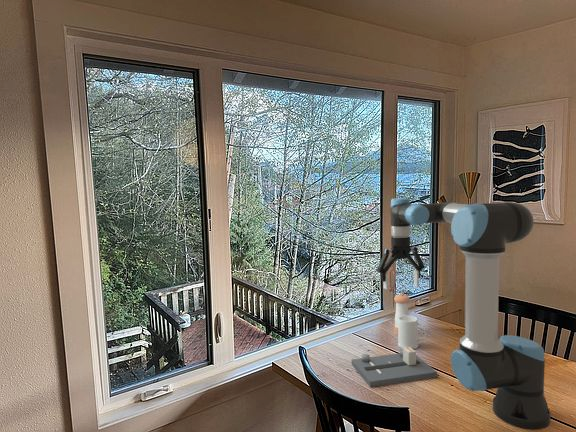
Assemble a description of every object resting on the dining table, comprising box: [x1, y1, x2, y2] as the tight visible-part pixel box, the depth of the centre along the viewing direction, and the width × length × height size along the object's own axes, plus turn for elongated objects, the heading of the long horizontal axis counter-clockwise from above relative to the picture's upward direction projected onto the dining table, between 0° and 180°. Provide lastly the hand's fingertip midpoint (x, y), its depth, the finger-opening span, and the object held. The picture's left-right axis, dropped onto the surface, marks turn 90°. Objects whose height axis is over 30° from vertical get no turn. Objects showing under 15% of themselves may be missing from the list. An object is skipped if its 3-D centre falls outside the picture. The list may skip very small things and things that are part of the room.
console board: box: [351, 348, 438, 388], centre depth 151 cm, size 18×26×4 cm
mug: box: [397, 315, 427, 350], centre depth 172 cm, size 12×8×12 cm
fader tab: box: [402, 347, 417, 365], centre depth 152 cm, size 4×3×5 cm
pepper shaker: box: [393, 292, 411, 336], centre depth 186 cm, size 7×7×19 cm
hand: (401, 287), depth 164 cm, fingers open, 13 cm apart
